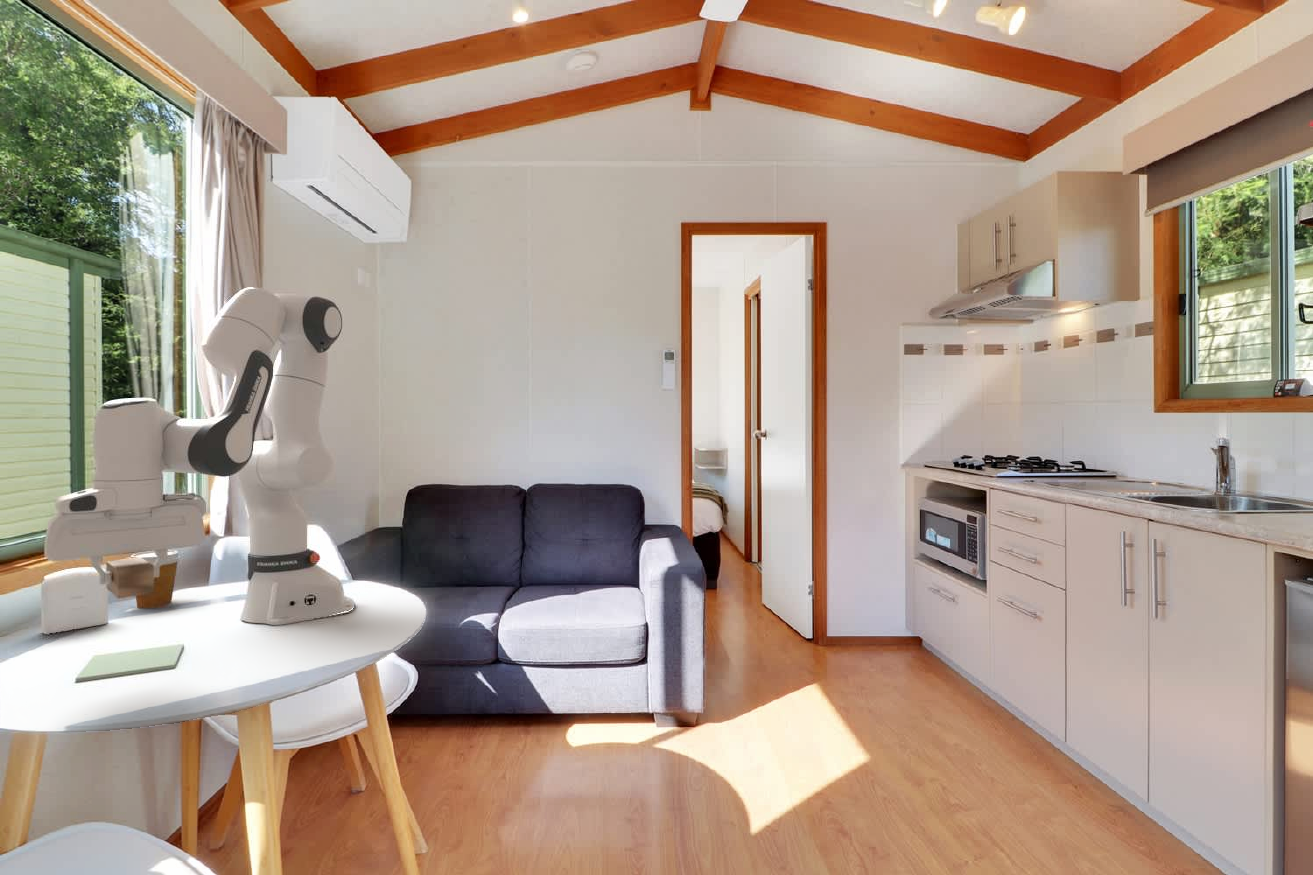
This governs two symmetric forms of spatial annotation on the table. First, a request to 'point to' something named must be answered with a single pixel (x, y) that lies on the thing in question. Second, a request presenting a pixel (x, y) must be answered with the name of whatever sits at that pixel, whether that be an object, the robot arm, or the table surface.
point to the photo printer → (73, 600)
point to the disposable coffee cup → (159, 580)
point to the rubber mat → (131, 662)
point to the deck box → (130, 577)
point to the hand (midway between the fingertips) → (129, 580)
